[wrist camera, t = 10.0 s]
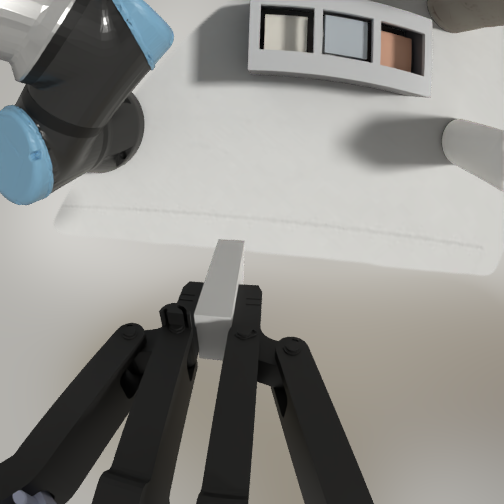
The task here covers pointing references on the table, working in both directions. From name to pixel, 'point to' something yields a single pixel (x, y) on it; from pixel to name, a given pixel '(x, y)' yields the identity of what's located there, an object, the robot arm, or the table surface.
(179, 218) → the table surface
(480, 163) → the white milk bottle
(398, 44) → the key terracotta
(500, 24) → the thermos bottle
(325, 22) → the key slate
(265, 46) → the key ivory
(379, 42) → the keypad housing
